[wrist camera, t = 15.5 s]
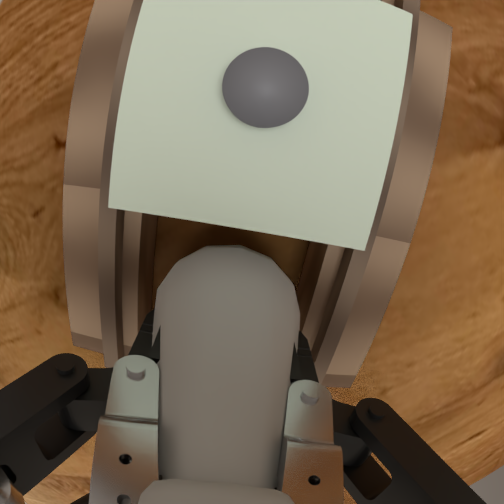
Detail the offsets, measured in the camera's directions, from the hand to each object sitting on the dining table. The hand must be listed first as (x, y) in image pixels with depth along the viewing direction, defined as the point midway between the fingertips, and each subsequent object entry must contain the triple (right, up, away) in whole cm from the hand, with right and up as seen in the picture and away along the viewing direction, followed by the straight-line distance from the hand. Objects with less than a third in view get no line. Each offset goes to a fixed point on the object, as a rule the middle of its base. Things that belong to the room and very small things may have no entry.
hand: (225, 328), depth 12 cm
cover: (+1, +9, -1) cm, 9 cm away
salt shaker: (0, +1, +3) cm, 3 cm away
